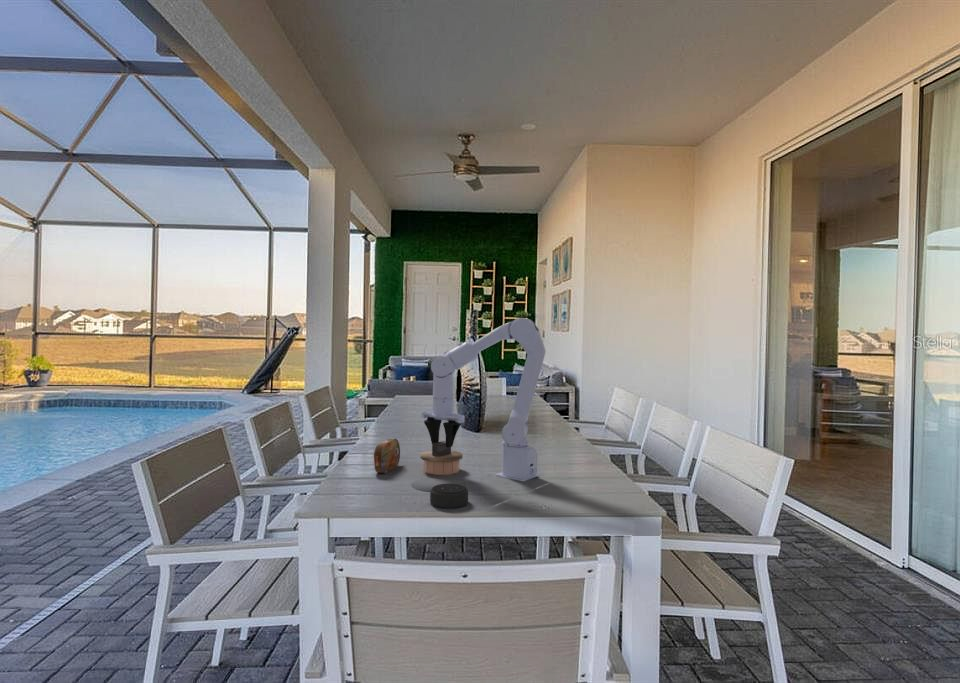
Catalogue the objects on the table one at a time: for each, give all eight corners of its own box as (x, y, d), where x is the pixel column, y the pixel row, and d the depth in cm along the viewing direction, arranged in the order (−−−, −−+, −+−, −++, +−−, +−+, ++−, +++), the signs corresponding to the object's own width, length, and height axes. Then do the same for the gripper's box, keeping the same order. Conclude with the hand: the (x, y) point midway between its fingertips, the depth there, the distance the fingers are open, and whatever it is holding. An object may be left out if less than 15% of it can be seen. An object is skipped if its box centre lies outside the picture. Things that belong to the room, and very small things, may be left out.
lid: (470, 456, 164) (471, 442, 164) (443, 464, 155) (444, 449, 155) (439, 450, 172) (439, 436, 171) (411, 457, 162) (411, 443, 162)
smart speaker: (427, 500, 137) (427, 483, 136) (464, 498, 139) (464, 481, 138) (432, 511, 128) (433, 494, 128) (471, 509, 130) (471, 492, 130)
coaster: (475, 484, 150) (475, 483, 150) (441, 496, 139) (441, 495, 139) (435, 475, 158) (435, 474, 158) (399, 486, 147) (399, 485, 147)
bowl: (466, 470, 164) (466, 456, 164) (443, 477, 156) (444, 463, 156) (439, 465, 170) (440, 451, 170) (417, 471, 162) (417, 457, 162)
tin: (382, 477, 156) (382, 446, 156) (371, 476, 157) (372, 445, 157) (400, 464, 171) (401, 436, 171) (391, 463, 172) (391, 435, 171)
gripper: (414, 397, 164) (413, 444, 164) (453, 401, 155) (452, 451, 156) (430, 394, 170) (430, 440, 170) (469, 399, 161) (468, 447, 161)
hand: (442, 445), depth 163 cm, fingers open, 5 cm apart
